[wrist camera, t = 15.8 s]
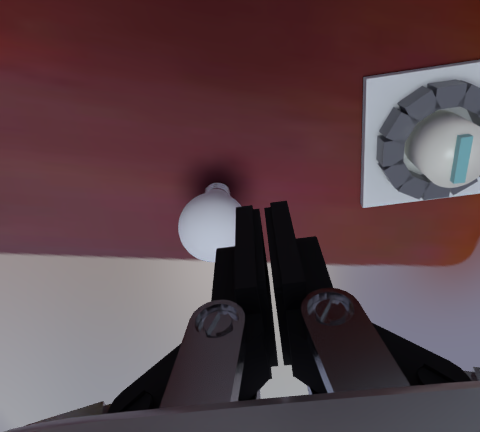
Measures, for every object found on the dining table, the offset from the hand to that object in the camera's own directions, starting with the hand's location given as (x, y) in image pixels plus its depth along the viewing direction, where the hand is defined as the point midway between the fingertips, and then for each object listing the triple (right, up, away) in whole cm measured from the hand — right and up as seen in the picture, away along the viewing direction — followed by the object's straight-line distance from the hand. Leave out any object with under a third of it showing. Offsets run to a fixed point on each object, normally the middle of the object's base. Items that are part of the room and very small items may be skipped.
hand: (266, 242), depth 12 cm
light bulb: (-3, +4, +29) cm, 30 cm away
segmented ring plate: (+19, +9, +26) cm, 33 cm away
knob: (+19, +9, +25) cm, 33 cm away
